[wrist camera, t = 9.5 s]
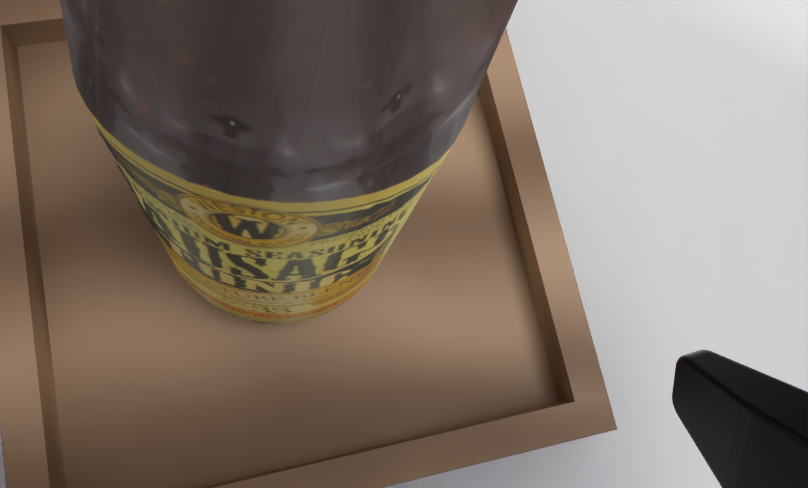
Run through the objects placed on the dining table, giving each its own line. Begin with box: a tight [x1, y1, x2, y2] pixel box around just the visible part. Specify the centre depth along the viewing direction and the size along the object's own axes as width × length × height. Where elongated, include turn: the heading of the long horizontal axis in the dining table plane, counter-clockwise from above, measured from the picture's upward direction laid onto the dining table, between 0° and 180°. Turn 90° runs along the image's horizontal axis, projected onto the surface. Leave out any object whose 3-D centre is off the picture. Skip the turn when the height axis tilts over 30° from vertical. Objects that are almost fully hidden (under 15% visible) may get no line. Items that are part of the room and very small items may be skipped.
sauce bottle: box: [60, 0, 518, 324], centre depth 12 cm, size 7×6×20 cm
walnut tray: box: [0, 0, 617, 488], centre depth 21 cm, size 16×16×2 cm
